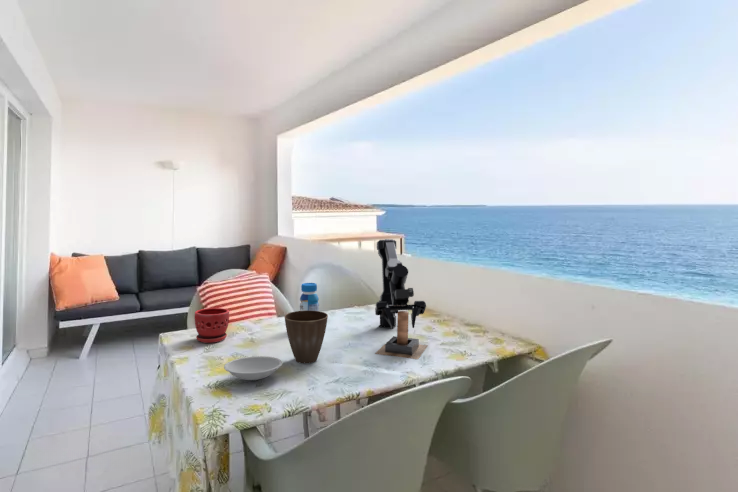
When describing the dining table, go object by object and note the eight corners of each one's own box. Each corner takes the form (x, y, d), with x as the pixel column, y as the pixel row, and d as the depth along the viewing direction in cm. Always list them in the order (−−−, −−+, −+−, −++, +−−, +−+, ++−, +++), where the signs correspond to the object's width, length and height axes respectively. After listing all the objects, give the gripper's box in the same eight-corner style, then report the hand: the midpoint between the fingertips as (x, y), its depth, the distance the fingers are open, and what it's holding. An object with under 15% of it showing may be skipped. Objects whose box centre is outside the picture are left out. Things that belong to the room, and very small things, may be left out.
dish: (285, 370, 141) (285, 355, 140) (279, 388, 126) (278, 372, 126) (231, 371, 139) (230, 356, 139) (218, 390, 125) (217, 373, 125)
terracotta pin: (394, 348, 159) (395, 312, 157) (402, 346, 161) (403, 310, 160) (402, 351, 156) (402, 314, 154) (409, 349, 158) (410, 312, 156)
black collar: (385, 352, 155) (385, 343, 155) (393, 343, 165) (393, 336, 164) (411, 355, 152) (411, 347, 152) (418, 346, 161) (418, 339, 161)
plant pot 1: (218, 345, 165) (218, 315, 164) (188, 343, 168) (187, 313, 167) (235, 335, 178) (235, 307, 177) (207, 334, 181) (206, 306, 180)
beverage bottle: (317, 331, 185) (317, 285, 183) (298, 331, 185) (297, 285, 183) (320, 325, 193) (320, 282, 191) (301, 325, 193) (301, 282, 191)
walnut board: (374, 356, 154) (374, 353, 154) (388, 343, 169) (388, 340, 169) (417, 362, 148) (417, 359, 148) (428, 347, 163) (428, 345, 163)
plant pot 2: (329, 352, 158) (329, 310, 156) (326, 367, 143) (326, 320, 141) (288, 353, 157) (288, 310, 156) (281, 368, 142) (281, 321, 141)
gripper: (376, 280, 159) (380, 317, 149) (425, 279, 161) (432, 315, 151) (373, 297, 167) (377, 332, 157) (420, 296, 169) (426, 331, 160)
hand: (403, 327), depth 156 cm, fingers open, 7 cm apart
